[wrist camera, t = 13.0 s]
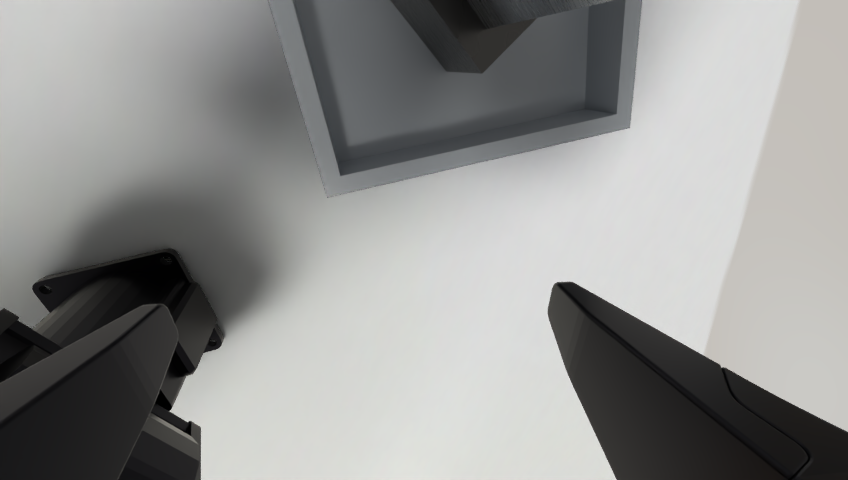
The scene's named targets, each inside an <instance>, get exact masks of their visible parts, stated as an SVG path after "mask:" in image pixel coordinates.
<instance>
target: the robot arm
mask: <svg viewBox="0 0 848 480" xmlns="http://www.w3.org/2000/svg"><path fill="white" fill-rule="evenodd" d="M163 257H169V258H170V259H171V260H172V262H168V261H166V260H165V259H164V258H163ZM45 285H46V286H49V287H50V288H51V289H52V290H49V289H47V288H46V287H45ZM32 289H33V291H34V293H35V294H36V296H37V297H38V298H39V300H40V301H41V302H42V303H43V305H44V306H45V307H46V308H47V310H48V311H49V312H50V313H49V314H48V315H47V316H46V317H45V318H44V319H43V320H42V321H41V322H39V323H38V324H37V325H36V326H35V327H34V328H33V329H31V328H29V327H28V326H26V325H24V324H23V323H21V322H19V321H18V320H17V319H18V318H19V317H18V316H16V315H15V314H13V313H11V312H10V311H8V310H6V309H5V308H3V309H2V310H1V311H0V480H201V427H200V426H198V425H196V424H195V423H193V422H191V421H189V422H186V421H184V420H183V419H181V418H179V417H178V416H176V415H174V414H173V413H171V412H169V411H170V410H171V408H172V407H173V404H174V402H175V400H176V398H177V395H178V393H179V391H180V389H181V387H182V384H183V382H184V380H185V378H186V376H188V375H191V374H193V373H194V372H195V370H196V368H197V366H198V364H199V362H200V359H201V357H202V355H203V353H205V352H208V351H212V350H216V349H218V348H219V347H220V346H221V345H222V342H223V339H224V338H223V335H222V333H221V331H220V330H219V328H218V326H217V324H216V322H217V317H216V315H215V313H214V311H213V310H212V308H211V306H210V304H209V302H208V300H207V298H206V296H205V295H204V293H203V291H202V289H201V287H200V285H199V284H198V283H196V282H194V281H193V279H192V278H191V276H190V274H189V272H188V270H187V268H186V266H185V265H184V263H183V261H182V259H181V257H180V255H179V254H178V253H177V252H176V251H174V250H172V249H162V250H158V251H153V252H149V253H145V254H141V255H136V256H132V257H128V258H124V259H119V260H115V261H111V262H107V263H102V264H98V265H94V266H90V267H85V268H81V269H77V270H73V271H68V272H64V273H60V274H56V275H51V276H47V277H44V278H41V279H40V280H38V281H37V282H36V283H35V284H34V285H33V288H32ZM548 317H549V321H550V324H551V327H552V329H553V332H554V335H555V338H556V341H557V344H558V347H559V350H560V353H561V356H562V359H563V362H564V365H565V368H566V370H567V373H568V376H569V378H570V380H571V382H572V385H573V387H574V389H575V391H576V393H577V395H578V397H579V400H580V402H581V404H582V406H583V408H584V410H585V413H586V415H587V417H588V419H589V421H590V423H591V425H592V428H593V430H594V432H595V434H596V436H597V438H598V440H599V443H600V445H601V447H602V449H603V451H604V453H605V455H606V458H607V460H608V462H609V464H610V466H611V468H612V471H613V473H614V475H615V477H616V479H617V480H848V432H846V431H844V430H842V429H840V428H838V427H836V426H834V425H832V424H830V423H828V422H826V421H824V420H822V419H820V418H818V417H816V416H814V415H813V414H810V413H809V412H807V411H805V410H803V409H801V408H799V407H797V406H795V405H793V404H791V403H789V402H787V401H785V400H783V399H781V398H779V397H777V396H775V395H774V394H772V393H770V392H768V391H766V390H764V389H763V388H761V387H759V386H757V385H755V384H753V383H751V382H749V381H748V380H746V379H744V378H742V377H741V376H739V375H737V374H735V373H733V372H732V371H730V370H728V369H727V368H724V367H723V368H721V366H720V365H719V364H718V363H716V362H714V361H712V360H710V359H709V358H707V357H705V356H703V355H702V354H700V353H698V352H696V351H694V350H693V349H691V348H689V347H687V346H686V345H684V344H682V343H680V342H678V341H677V340H675V339H673V338H671V337H669V336H668V335H666V334H664V333H662V332H661V331H659V330H657V329H655V328H653V327H652V326H650V325H648V324H646V323H645V322H643V321H641V320H639V319H637V318H636V317H634V316H632V315H630V314H629V313H627V312H625V311H623V310H621V309H620V308H618V307H616V306H614V305H613V304H611V303H609V302H607V301H605V300H604V299H602V298H600V297H598V296H597V295H595V294H593V293H591V292H589V291H588V290H586V289H584V288H582V287H580V286H579V285H577V284H575V283H573V282H557V283H555V284H554V286H553V288H552V292H551V297H550V301H549V306H548ZM210 339H213V340H216V342H212V341H210Z"/></svg>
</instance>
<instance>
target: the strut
mask: <svg viewBox="0 0 848 480" xmlns="http://www.w3.org/2000/svg"><path fill="white" fill-rule="evenodd" d="M609 1H614V0H391V2H392V3H393V4H394V6H395V7H396V8H397V9H398V11H399V12H400V13H401V14H402V16H403V17H404V18H405V20H406V21H407V22H408V23H409V25H410V26H411V27H412V28H413V30H414V31H415V32H416V34H417V35H418V36H419V37H420V39H421V40H422V41H423V43H424V44H425V45H426V46H427V48H428V49H429V50H430V51H431V53H432V54H433V55H434V57H435V58H436V59H437V60H438V62H439V63H440V64H441V66H442V67H443V68H444V69H445V71H446V72H461V73H479V74H483V73H484V71H485V70H486V69H487V68H488V67H489V66H490V65H491V64H492V63H493V62H494V61H495V60H496V59H497V58H498V57H499V56H500V55H501V54H502V53H503V52H504V51H505V50H506V49H507V48H508V47H509V46H510V45H511V44H512V43H513V42H514V41H515V40H516V39H517V38H518V37H519V36H520V35H521V34H522V33H523V32H524V31H525V30H526V29H527V28H528V27H529V26H530V25H531V24H532V23H533V22H534V21H535V20H536V19H537V18H538V17H543V16H547V15H552V14H556V13H561V12H565V11H570V10H574V9H578V8H583V7H587V6H592V5H596V4H601V3H605V2H609Z"/></svg>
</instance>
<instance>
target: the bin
mask: <svg viewBox="0 0 848 480" xmlns="http://www.w3.org/2000/svg"><path fill="white" fill-rule="evenodd" d="M268 2H269V5H270V9H271V12H272V15H273V19H274V22H275V25H276V29H277V32H278V35H279V39H280V42H281V45H282V49H283V52H284V55H285V59H286V62H287V65H288V69H289V72H290V75H291V79H292V82H293V85H294V89H295V92H296V95H297V99H298V102H299V105H300V109H301V112H302V115H303V119H304V122H305V125H306V129H307V132H308V135H309V139H310V142H311V145H312V149H313V152H314V155H315V159H316V162H317V165H318V169H319V172H320V175H321V179H322V182H323V185H324V189H325V192H326V195H327V198H328V197H332V196H337V195H341V194H345V193H350V192H354V191H358V190H363V189H367V188H371V187H376V186H380V185H384V184H389V183H393V182H397V181H402V180H406V179H410V178H415V177H419V176H423V175H428V174H432V173H436V172H441V171H445V170H449V169H454V168H458V167H462V166H467V165H471V164H475V163H480V162H484V161H488V160H493V159H497V158H501V157H506V156H510V155H514V154H519V153H523V152H527V151H532V150H536V149H540V148H545V147H549V146H553V145H558V144H562V143H566V142H571V141H575V140H579V139H584V138H588V137H592V136H597V135H601V134H605V133H610V132H614V131H619V130H623V129H627V128H630V121H631V111H632V100H633V90H634V79H635V68H636V58H637V47H638V37H639V26H640V16H641V5H642V0H614V1H609V2H605V3H601V4H596V5H592V6H587V7H583V8H578V9H574V10H570V11H565V12H561V13H556V14H552V15H547V16H543V17H538V18H537V19H536V20H535V21H534V22H533V23H532V24H531V25H530V26H529V27H528V28H527V29H526V30H525V31H524V32H523V33H522V34H521V35H520V36H519V37H518V38H517V39H516V40H515V41H514V42H513V43H512V44H511V45H510V46H509V47H508V48H507V49H506V50H505V51H504V52H503V53H502V54H501V55H500V56H499V57H498V58H497V59H496V60H495V61H494V62H493V63H492V64H491V65H490V66H489V67H488V68H487V69H486V70H485V71H484V73H483V74H479V73H461V72H446V71H445V69H444V68H443V67H442V66H441V64H440V63H439V62H438V60H437V59H436V58H435V57H434V55H433V54H432V53H431V51H430V50H429V49H428V48H427V46H426V45H425V44H424V43H423V41H422V40H421V39H420V37H419V36H418V35H417V34H416V32H415V31H414V30H413V28H412V27H411V26H410V25H409V23H408V22H407V21H406V20H405V18H404V17H403V16H402V14H401V13H400V12H399V11H398V9H397V8H396V7H395V6H394V4H393V3H392V2H391V0H268Z"/></svg>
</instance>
